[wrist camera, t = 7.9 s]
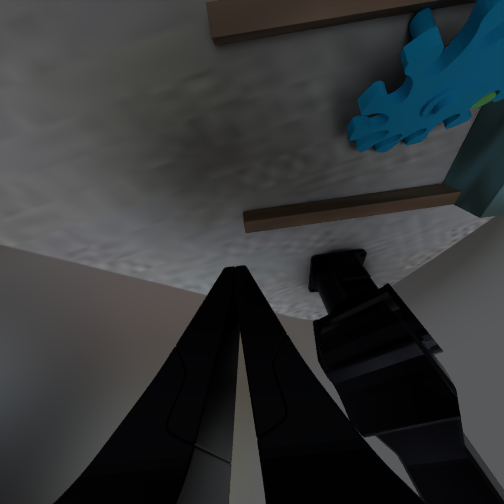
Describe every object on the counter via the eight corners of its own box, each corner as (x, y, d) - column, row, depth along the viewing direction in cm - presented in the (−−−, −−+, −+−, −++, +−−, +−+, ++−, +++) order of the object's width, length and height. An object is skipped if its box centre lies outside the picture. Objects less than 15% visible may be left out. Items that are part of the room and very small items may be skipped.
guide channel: (456, 192, 20) (504, 214, 16) (245, 222, 20) (246, 249, 17) (597, -53, 11) (773, -123, 7) (209, 13, 11) (198, -22, 8)
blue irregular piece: (325, 167, 15) (489, -23, 6) (309, 99, 16) (432, -183, 6) (444, 151, 17) (749, -26, 7) (426, 89, 17) (684, -158, 7)
